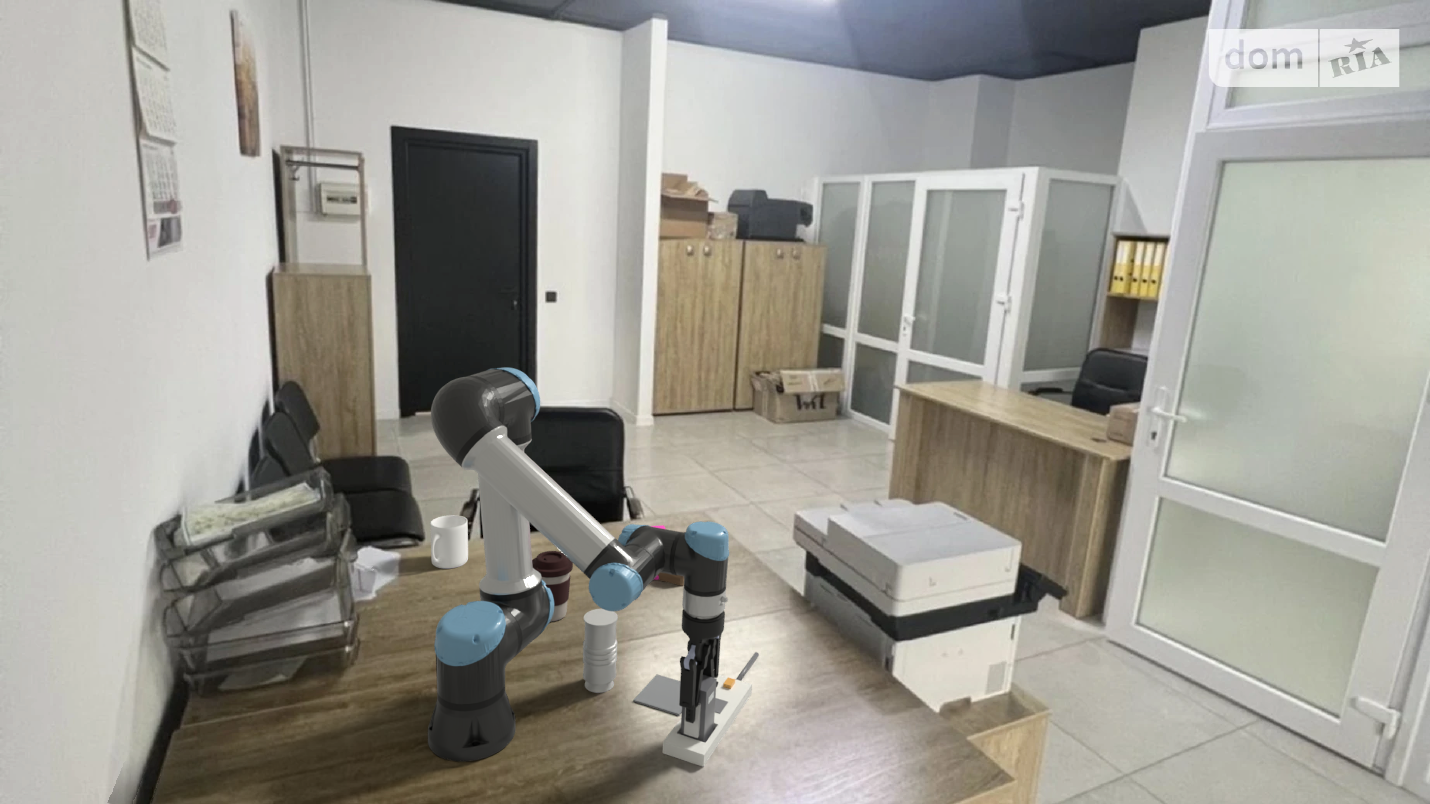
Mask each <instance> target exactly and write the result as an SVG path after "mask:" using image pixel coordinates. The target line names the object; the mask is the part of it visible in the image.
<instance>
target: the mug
mask: <svg viewBox="0 0 1430 804" xmlns="http://www.w3.org/2000/svg"><path fill="white" fill-rule="evenodd" d="M429 523H430V524H429V526H430V527H429V528H430V555H431V556H430V557H431V564H432V565H433V566H434V567H436V568H439V569H443V570H445V569H446V570H447V569H448V570H449V569H455V568H459V567H462V566H464V565H465V564H466V563H467V562H468V559H469V535H468V534H469V531H468V518H466V517H465V516H462V515H456V514H455V515H453V514H447V515H441V516H438V517H435V518H433V519H431V520H430V522H429Z"/></svg>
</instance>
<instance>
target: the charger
mask: <svg viewBox="0 0 1430 804" xmlns="http://www.w3.org/2000/svg"><path fill="white" fill-rule="evenodd" d="M716 681H717V679H716V678H713V677H709V676H706V675H703V676H702V683H701V690H700V697H699V703H700V704H701V711H700V730H699V737H698V738H695V737H692V736H689V735H686V734H684V720H685V707H682V713H681V714H680V717H681V718H680V719H681V735H684V736H687V737H690V738H693V739H696V740H699V741H702V742H705V743H706V741H707V740H708V738H709V737H710V736H711V734H712V733H713V731H714V716H715V699H716Z"/></svg>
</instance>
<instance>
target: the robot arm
mask: <svg viewBox="0 0 1430 804" xmlns="http://www.w3.org/2000/svg"><path fill="white" fill-rule="evenodd" d="M540 409H541V396H540V392H539V389H538V388H537V385H536V384H535V382H534V380H532V379H531V378H530V377H529V376H528V375H527V374H526V373H525V372H523V371H521V370H520V369H517V368H513V367H497V368H496V367H495V368H489V369H487V370H484V371H480V372H477V373H474V374H471V375H467V376H463V377H459V378H455V379H453V380H450V381H448V383H446V384H445V385H443V386H442V387H441V388H440V389H439V390H438V391H437V393H436V394H435V396H434V399H433V401H432V404H431V408H430V420H431V421H430V422H431V425H432V426H431V427H432V429H433V432H434V434H435V437H436V439H437V440H438V442H439V444H440V446H441V447H442V448H443V449H444V451H445V452H446V453H447V454H448V455H449V457H451V458H452V459H453V460H454V461H455V463H456V464H457V465H459V466H460V467H461V468H462V469H463V470H464V471H474V472H476V474H477V478H478V490H479V491H478V493H479V500H480V503H479V504H480V514H481V525H482V535H483V538H482V540H483V547H484V549H483V550H484V559H485V561H484V562H485V569H486V572H485V573H486V574H485V575H484V576H483V577H482V578H481V579H480V581H479V583H478V586H479V587H478V588H479V597H480V598H479V599H480V600H474V601H469V602H466V604H459V605H457V606H454V607H453V608H451V609H449V610H448V611H447V612H446V613H444V614H443V616H442V617H441V618H440V619H439V621H438V623H437V626H436V629H435V638H434V645H433V646H434V653H435V670H436V671H435V672H436V694H437V695H436V697H437V698H436V702H435V705H434V708H433V712H432V714H431V718H430V721H429V722H428V727H427V744H428V748H429V749H430V751H432V752H433V754H435V755H436V756H437V757H439V758H441V759H444V760H447V761H452V762H473V761H478V760H482V759H485V758H489V757H491V756H493V755H495V754H496V753H499V752H500V751H502V750H503V749H504V748H505V747H507V746H509V744H510V743H511V741H512V740H513V738H514V737H515V734H516V726H517V725H516V714H515V712H514V710H513V708H512V706H511V702H510V699H509V697H508V694H507V691H506V666H507V665H508V664H509V662H511V661H512V660H513V659H514V658H515V657H517V656H518V654H519V653H521V651H523V650H524V649H525V648H526V647H528V645H529V644H530V645H531V643H532V642H533V641H534V640H535V639H537V638H538V637H540V635H541V634H543V632H545V629H546V628H547V626H549V624H550V623H551V622H552V621H551V619H552V616H553V612H554V599H553V595H552V592H551V590H550V588H547V587H546V586H545V585H546V583H545V582H544V581H543V580H542V577H541V574H540V573H539V572H538V571H537V570H535V569H534V568H533V566H532V560H533V554H532V541H531V539H532V538H531V529H530V528H531V527H530V525H531V526H533V527H534V528H535V529H536V530H537V531H538V532H539V533H540V534H542V536H544V537H545V539H547V540H548V541H549V542H550V544H552V545H553V546H554V547H555V548H556V549H557V550H558V551H559V552H562V553H563V554H564V555H565V556H566V557H567V558H568V559H569V560H570V561H571V562H572V563H573V565H574V566H576V567H577V569H578V570H580V571H581V572H582V574H584V575H585V576H586V577H587V578H588V579H589V581H588V592H589V594H590V597H591V598H592V602H594V603H595V604H596V606H598V607H599V609H604V610H607V611H614V612H620V611H623V610H625V609H626V608H628V606H630V605H631V604H632V603H633V602H634V601H636V600H638V598H640V596H641V595H642V593H643V591H644V590H645V589H646V588H647V587H648V586H649V584H650V583H651V582H653V581H655V580H654V578H655V577H656V576H657V575H658V574H659V573H660V572H661V573H666V574H672V575H680V576H683V577H684V585H683V586H682V587H683V588H682V603H681V604H682V611H681V612H682V613H681V629H682V631H683V633H684V634H685V635H686V636H687V638H688V639H689V640H688V642H687V646H686V650H687V655H686V656H682V655H681V656H680V658H679V665H680V680H679V681H680V702H679V705H680V706H682V707H685V720H684V734H686V735H689V736H692V737H695V738H698V737H699V730H700V711H701V704H700V703H699V697H700V690H701V683H702V676H703V675H706V676H709V677H713V678H717V677H718V674H720V673H719V670H720V654H721V653H720V652H721V639H722V635H723V632H724V630H725V620H726V619H725V618H726V617H725V616H726V613H725V609H726V603H727V602H728V601H729V598H728V597H727V578H728V568H729V567H728V564H729V557H730V550H729V548H730V547H729V542H730V541H729V538H730V537H729V535H730V534H729V532H728V530H727V527H725V526H724V525H722V524H721V523H718V522H715V521H709V520H707V521H701V520H700V521H696V522H693V523H690V524H689V525H688V526H687V527H686V530H685V531H683V532H682V531H677V530H672V529H667V528H666V529H662V528H656V527H651V526H652V525H649V524H633V523H629V524H627V525H625V526H624V528H622V530H621V533H620V534H619V536H618V538H616V537H614V535H613V534H611V532H610V531H608V530H607V528H605V527H604V526H603V525H602V524H600V522H599V521H598V520H596V518H594V516H592V514H591V513H589V512H588V511H587V510H586V509H585V508H584V507H583V506H582V505H581V504H580V503H579V502H578V501H576V500H575V499H574V498H573V497H572V495H570V494H569V493H568V492H567V491H566V490H564V488H562V487H561V486H560V485H559V484H558V483H557V482H556V481H555V480H554V479H553V478H552V477H551V476H549V474H548V473H546V472H545V471H544V470H543V469H542V467H540V466H539V465H538V464H537V463H536V462H535V461H534V460H532V459H531V458H530V457H529V456H528V455H527V453H525V449H526V448H527V446H529V444H530V443H531V442H532V440H533V439H532V438H533V437H532V424H531V423H532V422H533V421H534V420H535V419H536V417H537V416H538V414H539V412H540ZM550 621H551V622H550ZM717 686H718V682H717V681H716V687H717Z"/></svg>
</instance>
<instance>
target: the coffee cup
mask: <svg viewBox="0 0 1430 804" xmlns="http://www.w3.org/2000/svg"><path fill="white" fill-rule="evenodd" d="M573 565H574V564H573V563H572V562H571V561H570V560H569V559H568V558H567V557H566V556H565V555H564V554H563V553H562V552H561V551H560V550H548V551H543V552H540V553H538V554H537V556H535V557H534V558H532V566H533V568H534V569H535V570H537V571H538V572H539V573H540V574H541V577H542V580H543V581H544V582H545V583H546V585H545V586H546V587H547V588H550V590H551V592H552V595H553V599H554V612H553V616H552V619H551V621H550V622H549V623H551V622H556V621H559V620H562V619H564V617H566V615H567V611H568V600H569V598H570V586H571V572H572V570H573Z"/></svg>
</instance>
